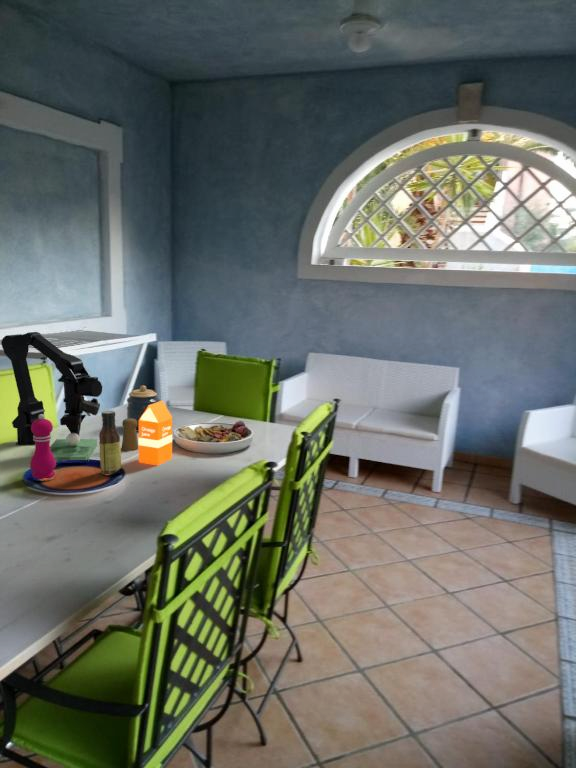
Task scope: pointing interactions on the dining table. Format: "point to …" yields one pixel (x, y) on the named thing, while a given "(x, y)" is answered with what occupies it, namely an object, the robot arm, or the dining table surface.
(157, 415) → the orange juice
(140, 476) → the dining table surface
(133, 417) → the canister
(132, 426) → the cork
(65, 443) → the green flat block
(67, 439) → the ball
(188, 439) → the bowl
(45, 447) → the pepper mill
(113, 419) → the sauce bottle
